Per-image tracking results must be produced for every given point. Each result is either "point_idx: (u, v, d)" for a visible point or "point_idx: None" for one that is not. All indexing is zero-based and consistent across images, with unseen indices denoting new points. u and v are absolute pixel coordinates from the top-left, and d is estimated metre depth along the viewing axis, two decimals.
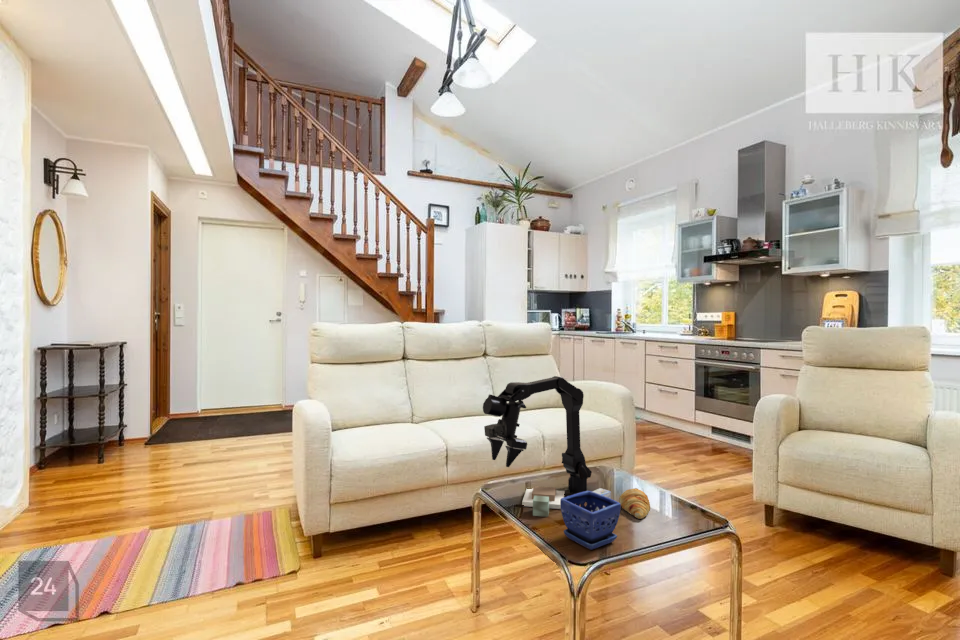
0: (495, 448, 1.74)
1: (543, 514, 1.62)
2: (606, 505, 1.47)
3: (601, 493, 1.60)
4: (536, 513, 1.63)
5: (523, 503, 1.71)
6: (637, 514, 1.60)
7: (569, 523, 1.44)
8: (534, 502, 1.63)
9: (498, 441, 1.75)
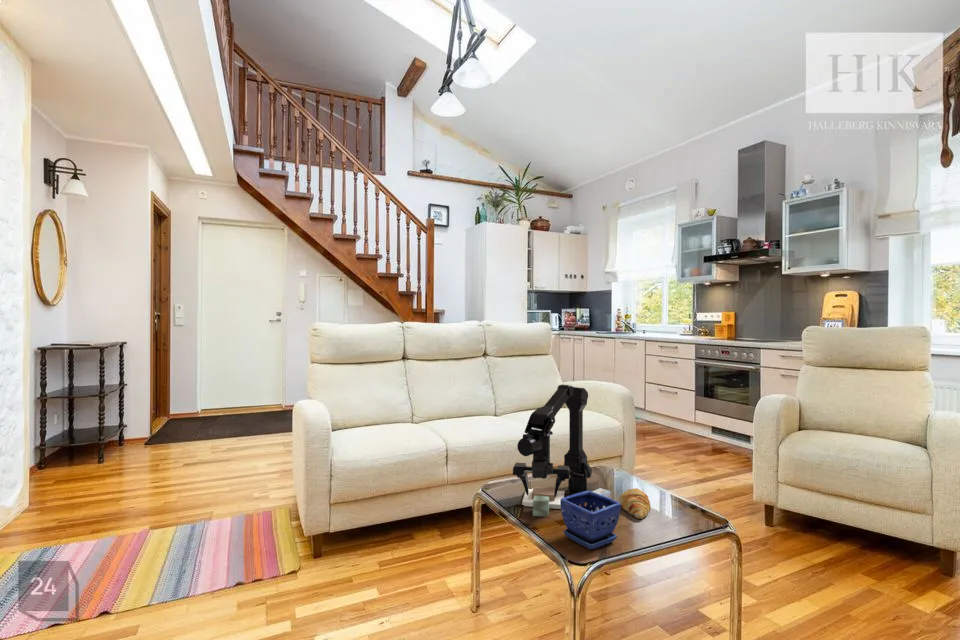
0: (527, 483, 1.66)
1: (543, 514, 1.62)
2: (606, 505, 1.47)
3: (601, 493, 1.60)
4: (536, 513, 1.63)
5: (523, 503, 1.71)
6: (637, 514, 1.59)
7: (569, 523, 1.44)
8: (534, 502, 1.63)
9: (526, 474, 1.67)
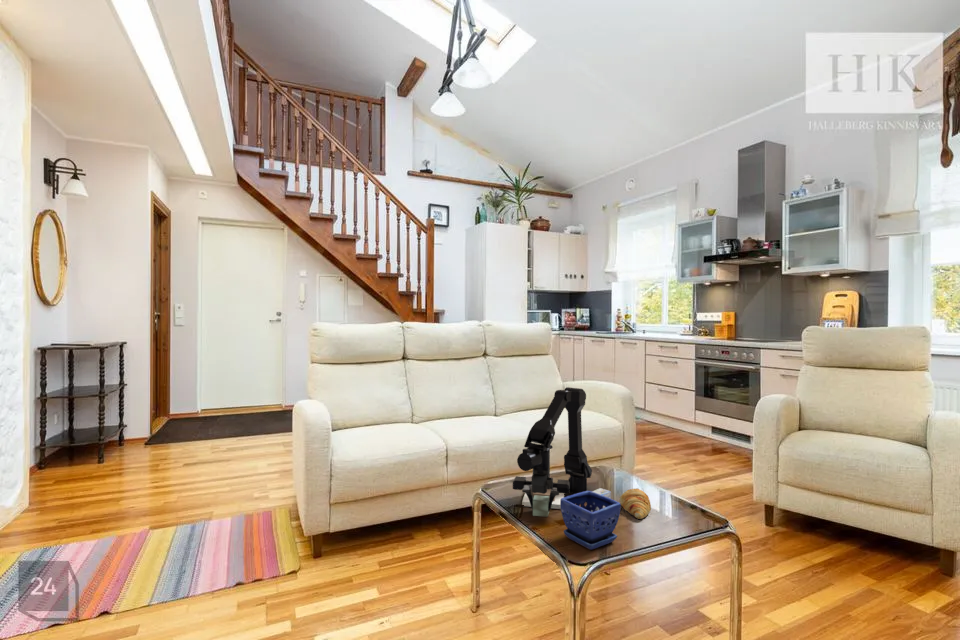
0: (532, 497, 1.65)
1: (543, 514, 1.62)
2: (606, 505, 1.48)
3: (601, 493, 1.60)
4: (536, 513, 1.63)
5: (523, 503, 1.71)
6: (637, 514, 1.59)
7: (569, 523, 1.44)
8: (534, 502, 1.63)
9: (531, 489, 1.66)
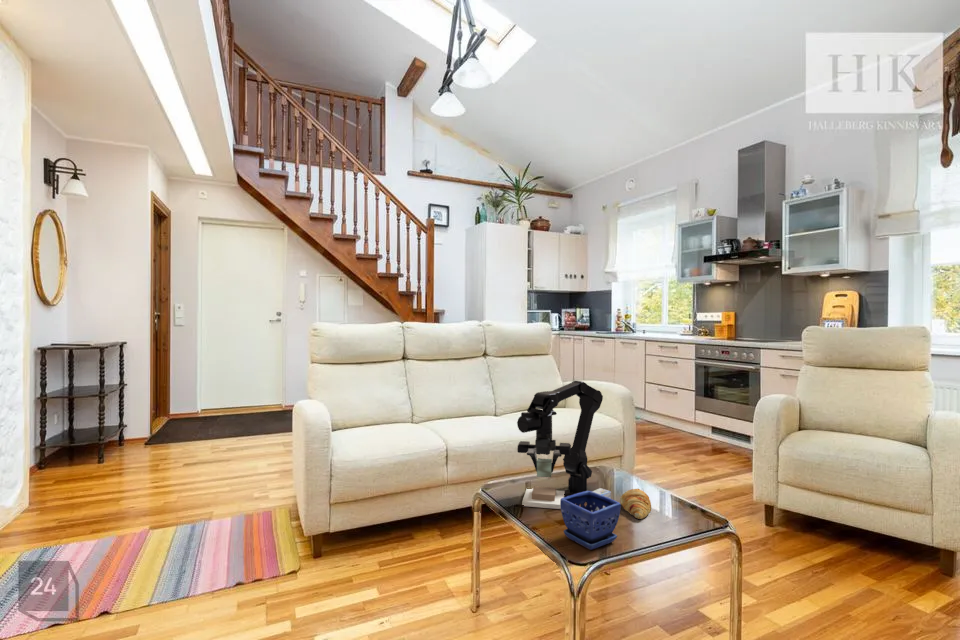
0: (536, 460, 1.76)
1: (546, 475, 1.73)
2: (606, 505, 1.48)
3: (601, 493, 1.60)
4: (540, 474, 1.73)
5: (523, 503, 1.71)
6: (637, 514, 1.59)
7: (569, 523, 1.44)
8: (538, 464, 1.73)
9: (535, 452, 1.77)
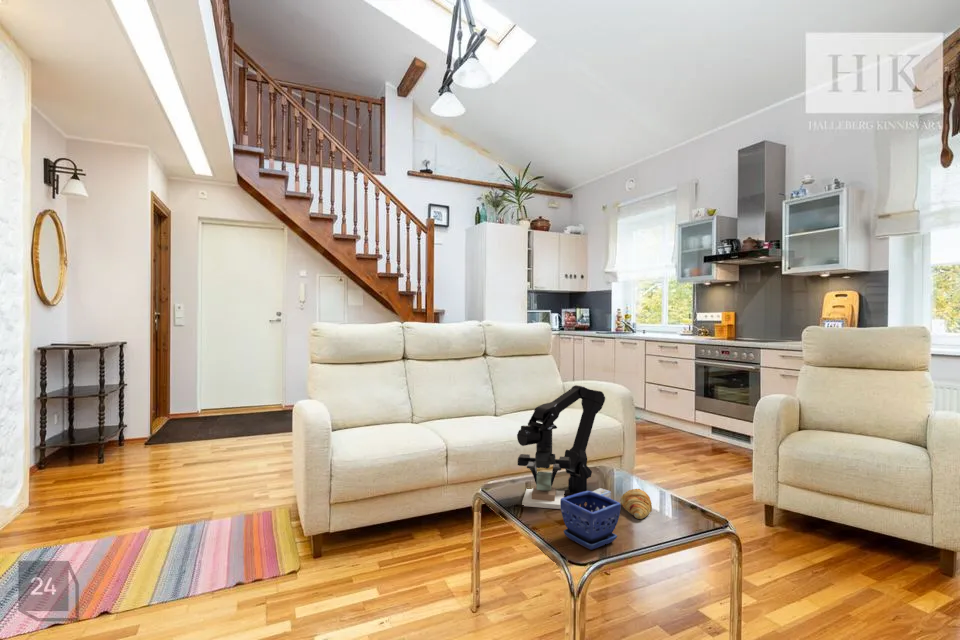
0: (536, 473, 1.77)
1: (546, 488, 1.74)
2: (606, 505, 1.47)
3: (601, 493, 1.60)
4: (539, 487, 1.75)
5: (523, 503, 1.71)
6: (636, 514, 1.59)
7: (569, 523, 1.44)
8: (538, 477, 1.75)
9: (535, 465, 1.78)
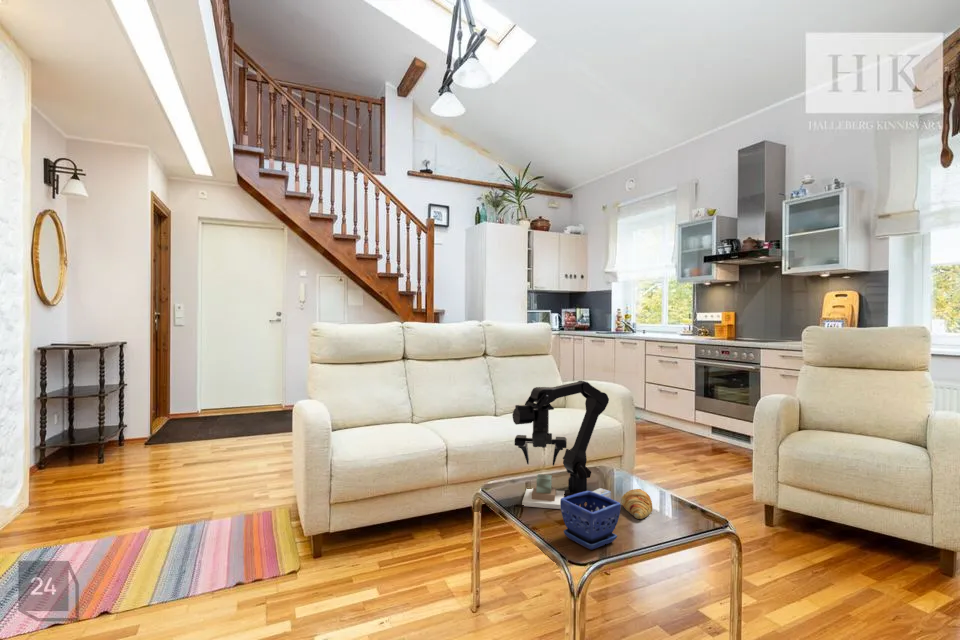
0: (527, 453, 1.80)
1: (546, 491, 1.74)
2: (606, 505, 1.47)
3: (601, 493, 1.60)
4: (539, 490, 1.75)
5: (523, 503, 1.71)
6: (636, 514, 1.59)
7: (569, 523, 1.44)
8: (538, 479, 1.75)
9: (526, 445, 1.81)
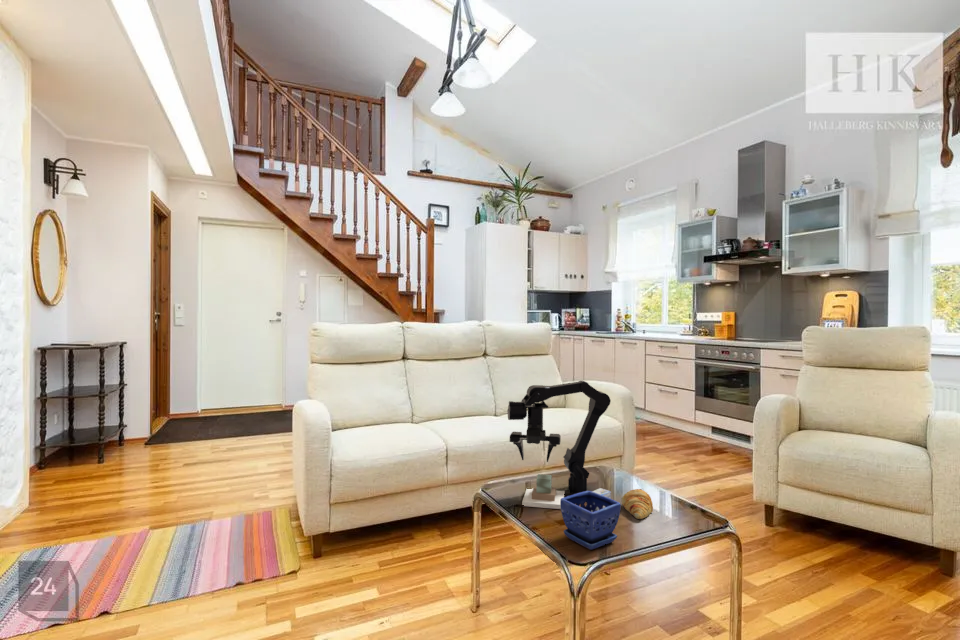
0: (522, 449, 1.85)
1: (546, 491, 1.74)
2: (606, 505, 1.47)
3: (601, 493, 1.60)
4: (539, 490, 1.75)
5: (523, 503, 1.71)
6: (636, 514, 1.59)
7: (569, 523, 1.44)
8: (538, 479, 1.75)
9: (521, 442, 1.86)
